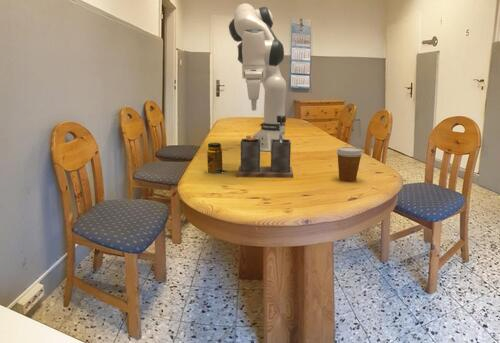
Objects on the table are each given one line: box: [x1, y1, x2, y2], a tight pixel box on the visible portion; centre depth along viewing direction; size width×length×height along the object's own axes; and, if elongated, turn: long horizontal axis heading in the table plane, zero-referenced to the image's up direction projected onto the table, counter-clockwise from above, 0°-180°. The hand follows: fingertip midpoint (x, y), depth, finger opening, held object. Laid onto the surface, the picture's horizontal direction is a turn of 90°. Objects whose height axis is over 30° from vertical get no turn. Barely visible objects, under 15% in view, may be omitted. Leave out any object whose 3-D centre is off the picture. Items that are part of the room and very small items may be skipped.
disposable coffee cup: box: [336, 146, 363, 183], centre depth 142 cm, size 10×10×12 cm
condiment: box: [206, 142, 229, 176], centre depth 153 cm, size 7×8×12 cm
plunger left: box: [245, 135, 255, 142], centre depth 150 cm, size 5×5×12 cm
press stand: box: [236, 138, 294, 179], centre depth 150 cm, size 22×12×14 cm, turn 87°
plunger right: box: [277, 115, 287, 142], centre depth 147 cm, size 5×5×12 cm
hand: (254, 110), depth 145 cm, fingers closed
